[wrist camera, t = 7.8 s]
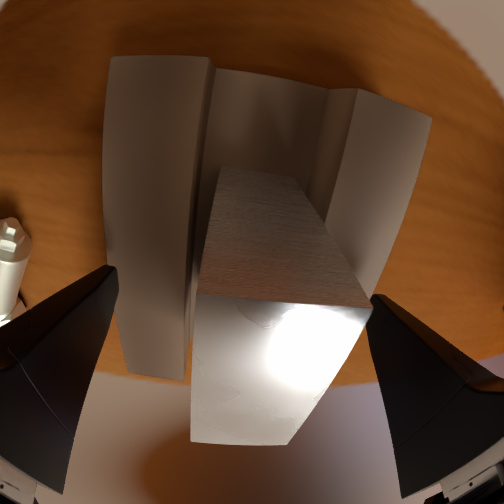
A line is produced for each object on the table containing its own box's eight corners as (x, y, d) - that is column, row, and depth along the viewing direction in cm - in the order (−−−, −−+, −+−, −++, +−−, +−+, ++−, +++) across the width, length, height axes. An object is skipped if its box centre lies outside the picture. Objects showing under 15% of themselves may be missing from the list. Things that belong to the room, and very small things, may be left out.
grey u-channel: (386, 109, 10) (432, 118, 7) (309, 342, 17) (321, 387, 14) (145, 66, 9) (111, 56, 6) (141, 326, 16) (128, 372, 13)
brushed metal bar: (293, 177, 12) (374, 308, 5) (265, 293, 14) (286, 444, 8) (220, 166, 11) (195, 293, 4) (206, 286, 14) (190, 441, 7)
